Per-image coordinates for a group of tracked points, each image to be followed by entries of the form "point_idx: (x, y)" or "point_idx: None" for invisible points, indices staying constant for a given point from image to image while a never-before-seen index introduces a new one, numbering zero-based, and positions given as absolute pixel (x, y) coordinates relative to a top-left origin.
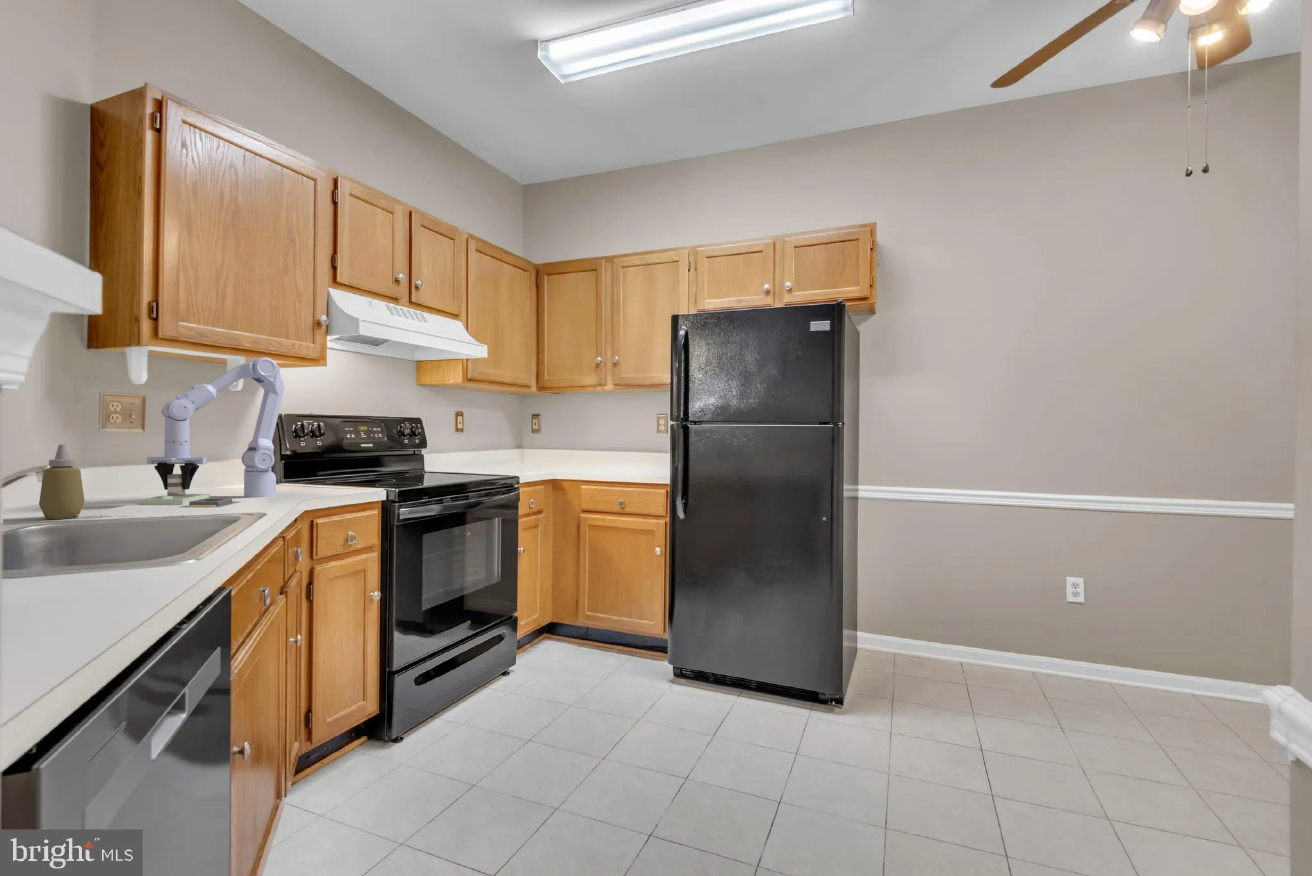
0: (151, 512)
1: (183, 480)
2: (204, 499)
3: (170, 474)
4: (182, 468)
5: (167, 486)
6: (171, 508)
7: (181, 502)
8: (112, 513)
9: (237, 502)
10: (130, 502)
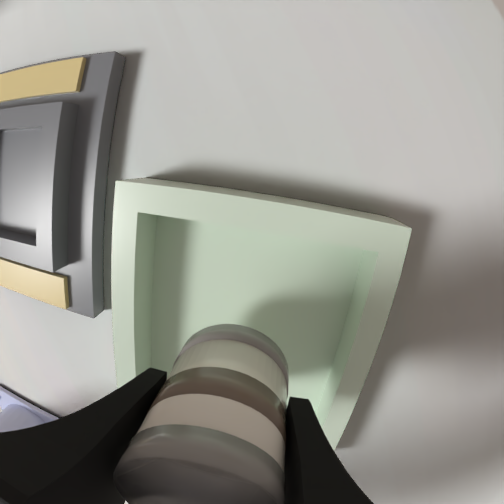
0: (243, 6)
1: (114, 404)
2: (37, 227)
3: None
4: (20, 469)
5: (278, 399)
6: (206, 180)
7: (133, 179)
8: (429, 16)
9: None
10: (467, 446)
